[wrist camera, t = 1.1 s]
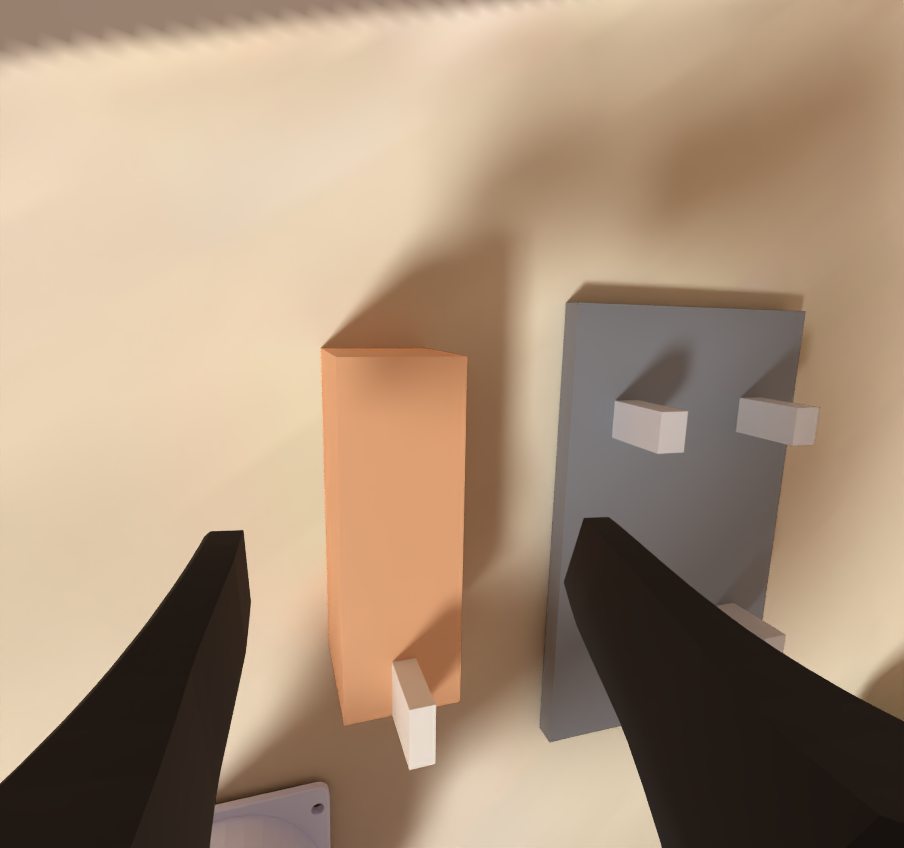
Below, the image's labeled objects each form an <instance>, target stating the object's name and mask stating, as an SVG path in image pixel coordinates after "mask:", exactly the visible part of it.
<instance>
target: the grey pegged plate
mask: <svg viewBox="0 0 904 848" xmlns="http://www.w3.org/2000/svg"><path fill="white" fill-rule="evenodd" d="M804 318H805V311H783V310H757V309H732V308H707V307H682V306H657V305H632V304H607V303H581V302H576V303H566V314H565V330H564V346H563V362H562V378H561V394H560V410H559V426H558V442H557V458H556V474H555V490H554V506H553V522H552V538H551V554H550V570H549V586H548V602H547V618H546V634H545V650H544V666H543V682H542V698H541V714H540V729H541V730H542V732H543V733H544V735H545V736H546V738H547V739H548V741H549V742H553V741H557V740H561V739H566V738H570V737H574V736H579V735H583V734H587V733H591V732H596V731H600V730H604V729H609V728H613V727H617V726H621V724H620V722H619V719H618V717H617V715H616V713H615V710H614V708H613V706H612V704H611V702H610V699H609V697H608V695H607V693H606V691H605V688H604V686H603V684H602V682H601V679H600V677H599V675H598V673H597V671H596V668H595V666H594V664H593V662H592V660H591V657H590V655H589V653H588V650H587V648H586V646H585V644H584V641H583V639H582V637H581V635H580V632H579V630H578V628H577V625H576V622H575V619H574V616H573V613H572V610H571V606H570V603H569V599H568V596H567V592H566V589H565V585H564V579H565V576H566V573H567V570H568V567H569V563H570V560H571V557H572V554H573V551H574V547H575V544H576V541H577V538H578V535H579V531H580V528H581V525H582V522H583V519H584V518H592V517H610V518H611V519H612V520H613V521H615V522H616V523H617V524H618V525H620V526H621V527H622V528H623V529H624V530H626V531H627V532H628V533H629V534H630V535H631V536H633V537H634V538H635V539H636V540H637V541H638V542H639V543H641V544H642V545H643V546H644V547H645V548H646V549H648V550H649V551H650V552H651V553H652V554H653V555H655V556H656V557H657V558H658V559H659V560H660V561H661V562H663V563H664V564H665V565H666V566H667V567H669V568H670V569H671V570H672V571H673V572H674V573H676V574H677V575H678V576H679V577H680V578H682V579H683V580H684V581H685V582H686V583H688V584H689V585H690V586H691V587H693V588H694V589H695V590H696V591H698V592H699V593H700V594H701V595H703V596H704V597H705V598H706V599H708V600H709V601H710V602H711V603H713V604H714V605H715V606H717V607H718V608H719V609H721V610H722V611H723V612H725V613H726V614H727V615H729V616H730V617H731V618H733V619H734V620H735V621H737V622H738V623H739V624H741V625H742V626H744V627H745V628H746V629H748V630H749V631H751V632H752V633H753V634H755V635H756V636H758V637H759V638H761V639H762V640H764V641H765V642H767V643H768V644H770V645H771V646H773V647H774V648H776V649H777V650H779V651H780V652H782V653H783V649H784V642H785V636H786V635H785V634H783V633H782V632H780V631H779V630H777V629H775V628H774V627H772V626H771V625H769V624H767V623H766V622H764V621H762V618H763V611H764V604H765V597H766V590H767V583H768V575H769V568H770V561H771V554H772V547H773V540H774V533H775V525H776V518H777V511H778V504H779V497H780V490H781V483H782V475H783V468H784V461H785V454H786V447H787V445H791V446H800V445H814V441H815V434H816V428H817V421H818V414H819V408H820V407H815V406H809V405H803V404H797V403H793V397H794V390H795V382H796V375H797V368H798V361H799V354H800V347H801V340H802V332H803V325H804Z"/></svg>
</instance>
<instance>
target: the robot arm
mask: <svg viewBox="0 0 904 848" xmlns="http://www.w3.org/2000/svg"><path fill="white" fill-rule="evenodd" d="M564 585H565V589H566V592H567V596H568V599H569V603H570V606H571V610H572V613H573V616H574V619H575V622H576V625H577V628H578V630H579V632H580V635H581V637H582V639H583V641H584V644H585V646H586V648H587V650H588V653H589V655H590V657H591V660H592V662H593V664H594V666H595V668H596V671H597V673H598V675H599V677H600V679H601V682H602V684H603V686H604V688H605V691H606V693H607V695H608V697H609V699H610V702H611V704H612V706H613V708H614V710H615V713H616V715H617V717H618V719H619V722H620V724H621V727H622V729H623V732H624V734H625V736H626V739H627V741H628V744H629V747H630V750H631V753H632V756H633V759H634V762H635V765H636V768H637V770H638V773H639V776H640V779H641V782H642V785H643V788H644V791H645V794H646V797H647V801H648V804H649V807H650V810H651V813H652V817H653V820H654V823H655V826H656V829H657V832H658V836H659V839H660V842H661V846H662V848H904V721H902V720H900V719H898V718H896V717H894V716H892V715H890V714H888V713H886V712H884V711H882V710H880V709H878V708H877V707H875V706H873V705H871V704H869V703H867V702H865V701H863V700H861V699H860V698H858V697H856V696H854V695H852V694H850V693H849V692H847V691H845V690H843V689H841V688H840V687H838V686H836V685H834V684H833V683H831V682H829V681H828V680H826V679H824V678H823V677H821V676H819V675H817V674H816V673H814V672H812V671H811V670H809V669H807V668H806V667H804V666H802V665H801V664H799V663H798V662H796V661H794V660H793V659H791V658H790V657H788V656H786V655H785V654H783V653H782V652H780V651H779V650H777V649H776V648H774V647H773V646H771V645H770V644H768V643H767V642H765V641H764V640H762V639H761V638H759V637H758V636H756V635H755V634H753V633H752V632H751V631H749V630H748V629H746V628H745V627H744V626H742V625H741V624H739V623H738V622H737V621H735V620H734V619H733V618H731V617H730V616H729V615H727V614H726V613H725V612H723V611H722V610H721V609H719V608H718V607H717V606H715V605H714V604H713V603H711V602H710V601H709V600H708V599H706V598H705V597H704V596H703V595H701V594H700V593H699V592H698V591H696V590H695V589H694V588H693V587H691V586H690V585H689V584H688V583H686V582H685V581H684V580H683V579H682V578H680V577H679V576H678V575H677V574H676V573H674V572H673V571H672V570H671V569H670V568H669V567H667V566H666V565H665V564H664V563H663V562H661V561H660V560H659V559H658V558H657V557H656V556H655V555H653V554H652V553H651V552H650V551H649V550H648V549H646V548H645V547H644V546H643V545H642V544H641V543H639V542H638V541H637V540H636V539H635V538H634V537H633V536H631V535H630V534H629V533H628V532H627V531H626V530H624V529H623V528H622V527H621V526H620V525H618V524H617V523H616V522H615V521H613V520H612V519H611V518H610V517H592V518H584V519H583V522H582V525H581V528H580V531H579V535H578V538H577V541H576V544H575V547H574V551H573V554H572V557H571V560H570V563H569V567H568V570H567V573H566V576H565V579H564ZM250 606H251V598H250V589H249V579H248V570H247V560H246V551H245V541H244V532H243V530H238V531H211V532H209V533H208V534H207V535H206V536H204V538H203V540H202V542H201V543H200V545H199V547H198V549H197V550H196V552H195V554H194V555H193V557H192V558H191V560H190V562H189V563H188V565H187V566H186V568H185V569H184V571H183V572H182V574H181V575H180V577H179V578H178V580H177V581H176V583H175V584H174V586H173V587H172V589H171V590H170V592H169V593H168V594H167V596H166V597H165V598H164V600H163V601H162V603H161V604H160V605H159V607H158V608H157V610H156V611H155V612H154V614H153V615H152V616H151V618H150V619H149V621H148V622H147V623H146V625H145V626H144V627H143V628H142V630H141V631H140V632H139V634H138V635H137V636H136V637H135V639H134V640H133V641H132V642H131V644H130V645H129V646H128V647H127V648H126V650H125V651H124V652H123V653H122V655H121V656H120V657H119V658H118V660H117V661H116V662H115V663H114V665H113V666H112V667H111V668H110V669H109V671H108V672H107V673H106V674H105V675H104V676H103V678H102V679H101V680H100V681H99V682H98V683H97V685H96V686H95V687H94V688H93V689H92V690H91V691H90V692H89V694H88V695H87V696H86V697H85V698H84V699H83V700H82V701H81V702H80V703H79V705H78V706H77V707H76V708H75V709H74V710H73V711H72V712H71V713H70V714H69V715H68V716H67V717H66V719H65V720H64V721H63V722H62V723H61V724H60V725H59V726H58V727H57V728H56V729H55V730H54V731H53V732H52V733H51V734H50V735H49V736H48V737H47V738H46V739H45V740H44V741H43V742H42V743H41V744H40V745H39V746H38V747H37V748H36V749H35V750H34V751H33V752H32V753H31V754H30V755H29V756H28V757H27V758H26V759H25V760H24V761H23V762H22V763H21V764H20V765H19V766H18V767H17V768H16V769H15V770H14V771H13V772H12V773H11V774H10V775H9V776H8V777H7V778H6V779H5V780H3V781H2V782H1V783H0V848H331V847H330V794H329V788H328V785H327V784H326V783H324V782H314V783H310V784H305V785H301V786H296V787H292V788H288V789H283V790H279V791H274V792H270V793H265V794H261V795H256V796H252V797H248V798H243V799H239V800H234V801H230V802H225V803H221V804H217V805H215V801H216V794H217V788H218V783H219V777H220V771H221V766H222V761H223V757H224V752H225V747H226V743H227V738H228V734H229V729H230V724H231V720H232V715H233V710H234V706H235V701H236V696H237V692H238V687H239V682H240V677H241V673H242V668H243V663H244V658H245V654H246V646H247V636H248V627H249V616H250ZM316 804H321V805H320V806H318V807H313V806H314V805H316Z"/></svg>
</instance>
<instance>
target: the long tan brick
mask: <svg viewBox="0 0 904 848" xmlns="http://www.w3.org/2000/svg"><path fill="white" fill-rule="evenodd" d="M321 372H322V409H323V446H324V483H325V520H326V557H327V594H328V630H329V648H330V653H331V658H332V664H333V669H334V674H335V680H336V685H337V690H338V695H339V701H340V706H341V711H342V717H343V722H344V726H345V725H350V724H355V723H360V722H365V721H370V720H374V719H379V718H384V717H389V716H393V720H394V723H395V726H396V729H397V732H398V735H399V739H400V742H401V745H402V748H403V751H404V755H405V758H406V761H407V764H408V767H409V770H412V769H416V768H420V767H425V766H429V765H433V764H435V752H436V707H437V706H442V705H447V704H452V703H457V702H460V675H461V628H462V581H463V534H464V487H465V440H466V393H467V356H463V355H458V354H453V353H448V352H443V351H438V350H433V349H428V348H321Z"/></svg>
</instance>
